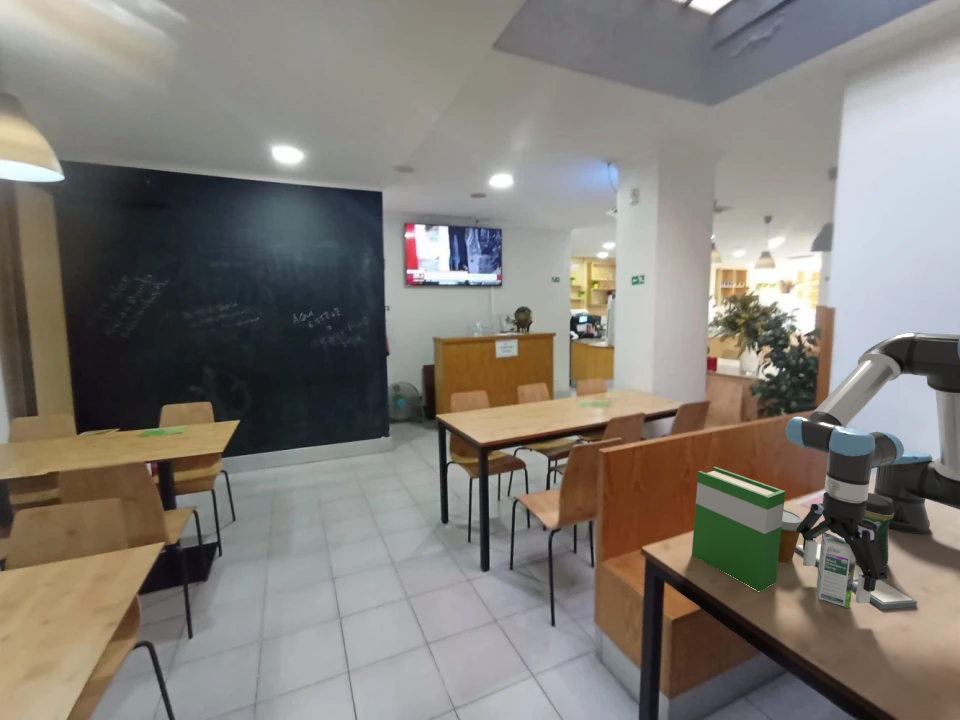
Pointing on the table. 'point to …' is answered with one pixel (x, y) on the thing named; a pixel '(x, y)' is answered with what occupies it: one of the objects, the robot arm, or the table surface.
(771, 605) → the table surface
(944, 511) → the table surface
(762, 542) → the hardback book
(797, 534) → the disposable coffee cup
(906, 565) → the table surface
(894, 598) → the board
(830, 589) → the syrup box
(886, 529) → the coffee jar
